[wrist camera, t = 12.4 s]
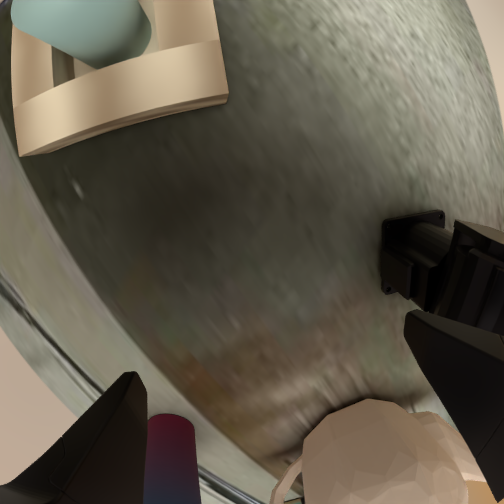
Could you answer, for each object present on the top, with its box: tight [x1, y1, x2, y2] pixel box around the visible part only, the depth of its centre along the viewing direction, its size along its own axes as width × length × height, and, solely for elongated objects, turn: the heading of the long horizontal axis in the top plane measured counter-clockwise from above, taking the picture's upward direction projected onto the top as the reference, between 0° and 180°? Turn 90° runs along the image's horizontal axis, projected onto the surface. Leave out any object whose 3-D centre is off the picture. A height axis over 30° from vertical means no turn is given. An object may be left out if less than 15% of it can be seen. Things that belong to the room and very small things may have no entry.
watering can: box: [270, 399, 486, 504], centre depth 22 cm, size 16×27×19 cm, turn 108°
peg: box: [11, 0, 152, 70], centre depth 10 cm, size 5×5×9 cm
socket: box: [11, 0, 229, 157], centre depth 13 cm, size 13×13×4 cm
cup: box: [143, 414, 201, 504], centre depth 20 cm, size 7×7×15 cm
